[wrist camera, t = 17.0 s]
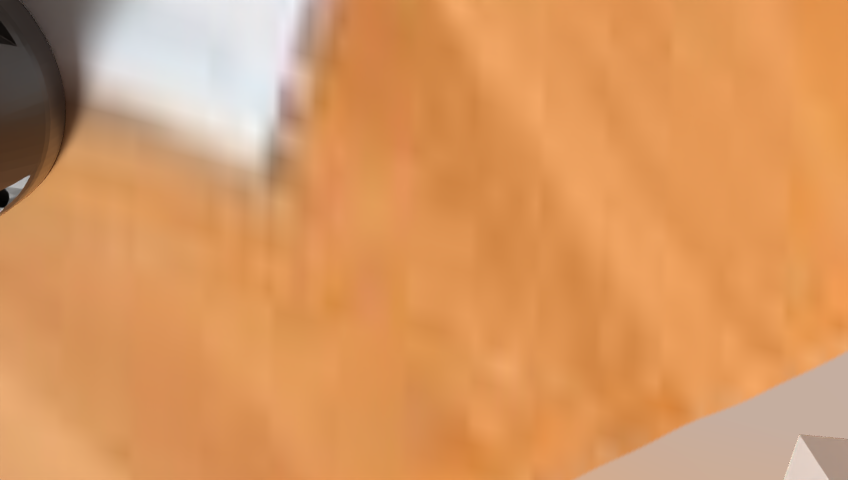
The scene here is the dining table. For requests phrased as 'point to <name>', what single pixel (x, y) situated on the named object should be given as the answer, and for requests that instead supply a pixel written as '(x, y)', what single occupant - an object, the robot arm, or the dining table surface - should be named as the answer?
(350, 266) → the dining table surface
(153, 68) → the dining table surface
